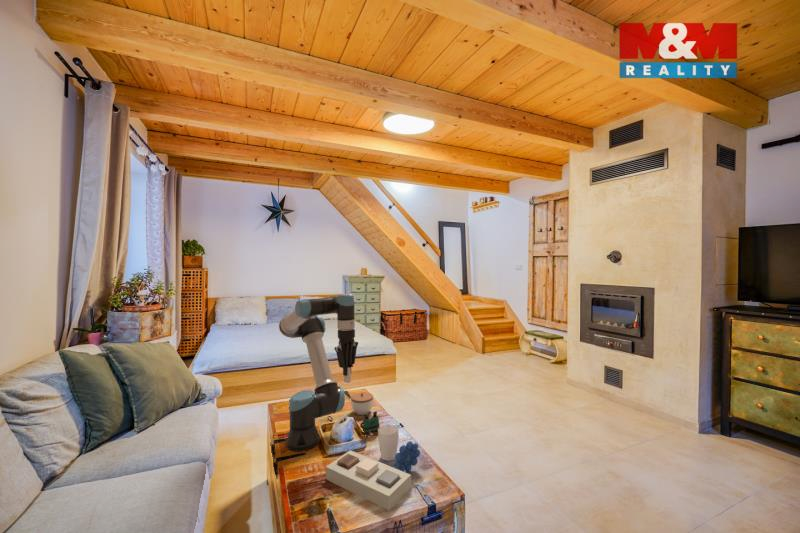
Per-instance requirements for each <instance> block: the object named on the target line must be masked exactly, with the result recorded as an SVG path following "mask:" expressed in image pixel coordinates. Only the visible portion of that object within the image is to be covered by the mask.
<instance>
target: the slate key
mask: <svg viewBox="0 0 800 533" xmlns="http://www.w3.org/2000/svg"><path fill="white" fill-rule="evenodd" d="M399 480H400V477H399V474H396V473H394V472H391V471H389V470H385V471H384V472H383V473H382V474H381V475H379V476H378V477H377V483H379V484H382V485H384V486H386V487H388V488H391V487H392V486H393V485H394V484H395V483H397V482H398V481H399Z"/></svg>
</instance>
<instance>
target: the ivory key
mask: <svg viewBox="0 0 800 533" xmlns="http://www.w3.org/2000/svg"><path fill="white" fill-rule="evenodd" d="M377 471H378V463H377V462H375V461H372V460H370V459H367V458H366V459H364V460H363V461H362V462H360V463H359V464H358V465H356V473H357V474H359V475H362V476H364V477H366V478H368V479H369V478H370V477H371V476H372V475H374V474H375V473H376V472H377Z"/></svg>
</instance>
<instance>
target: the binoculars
mask: <svg viewBox="0 0 800 533" xmlns="http://www.w3.org/2000/svg"><path fill="white" fill-rule="evenodd" d="M377 414H378V412H377V411H373V412H372V416H371V417H369V416H370V415H369V413H367V414H364V415H363V416H364V417H363V420H362V422H361V423H360V425H359V427H360V428H361V430H362V429H363V431H364V432H365V433H364V436H365V435H366V436H367V437H366V438H369V437H368V436H370V437H371V432H373V435H375V436H378V435H377V434H378V429H379V428H380V427H381V426H380V422H379V420H380V419H379V418H380V417H379V415H377Z"/></svg>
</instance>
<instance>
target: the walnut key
mask: <svg viewBox="0 0 800 533" xmlns="http://www.w3.org/2000/svg"><path fill="white" fill-rule="evenodd" d="M357 463H359V458H357V457H355V456H352V455H350V454H347V455H345V456H344V457H342V458H341V459H339V460H338V465H339V466H341V467H344V468H346V469H348V470H349V469H350V468H352V467H353V466H355V465H356V464H357Z"/></svg>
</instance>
